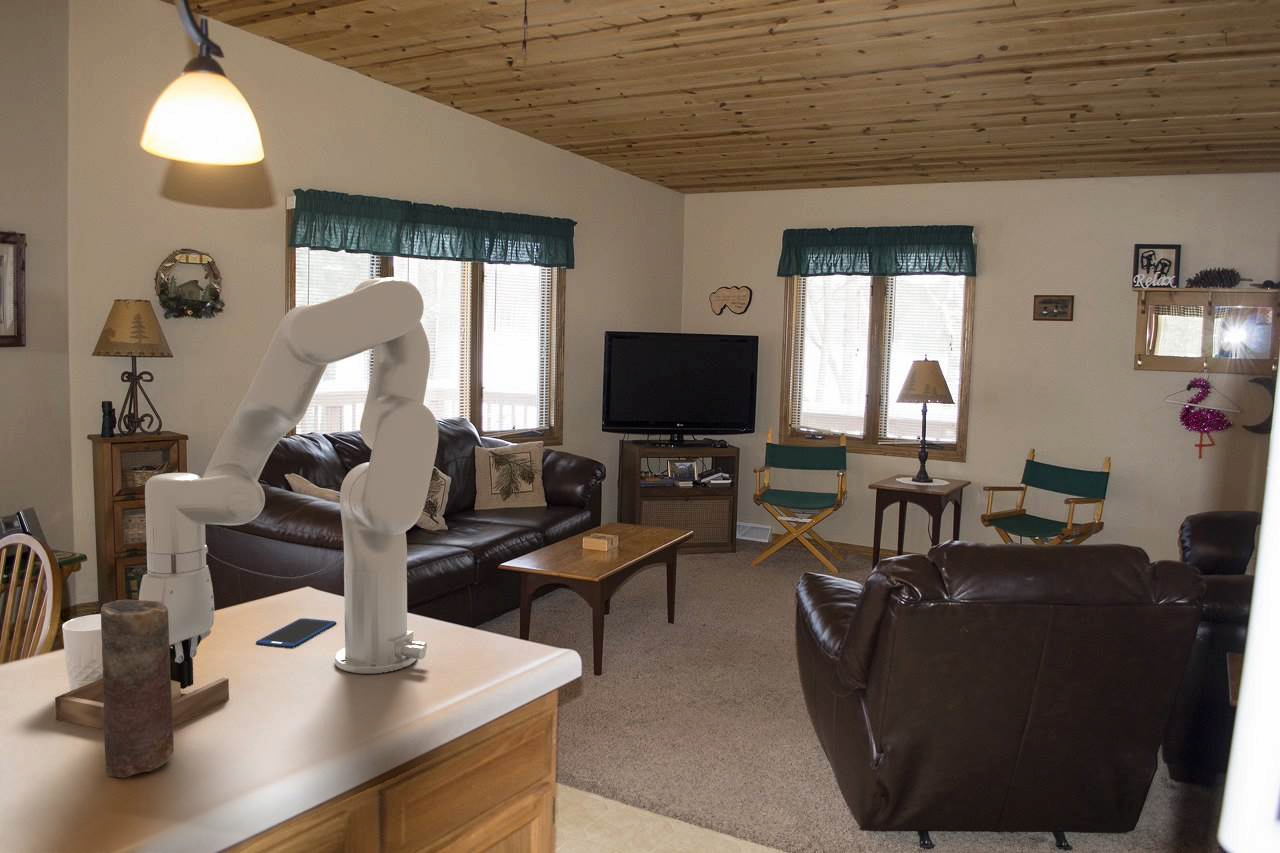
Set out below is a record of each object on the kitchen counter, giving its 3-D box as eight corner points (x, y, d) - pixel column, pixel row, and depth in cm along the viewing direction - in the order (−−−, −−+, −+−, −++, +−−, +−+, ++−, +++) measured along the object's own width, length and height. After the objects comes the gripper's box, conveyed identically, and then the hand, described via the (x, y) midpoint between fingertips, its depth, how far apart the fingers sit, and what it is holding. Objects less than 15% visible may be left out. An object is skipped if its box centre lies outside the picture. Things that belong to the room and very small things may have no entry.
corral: (229, 699, 137) (228, 678, 136) (149, 738, 124) (148, 716, 123) (141, 682, 142) (141, 663, 142) (56, 719, 129) (55, 697, 128)
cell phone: (253, 646, 159) (253, 642, 159) (301, 621, 173) (301, 617, 173) (293, 650, 158) (293, 646, 158) (338, 625, 171) (338, 620, 171)
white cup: (100, 702, 135) (97, 632, 134) (51, 696, 136) (48, 628, 135) (140, 681, 142) (137, 616, 141) (93, 676, 144) (91, 611, 143)
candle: (123, 751, 120) (117, 594, 118) (184, 750, 120) (179, 594, 118) (93, 781, 112) (86, 614, 110) (159, 780, 113) (153, 613, 111)
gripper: (196, 547, 145) (199, 665, 147) (111, 570, 131) (116, 700, 133) (236, 552, 142) (239, 672, 144) (154, 576, 128) (158, 709, 130)
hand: (180, 685), depth 139 cm, fingers closed
